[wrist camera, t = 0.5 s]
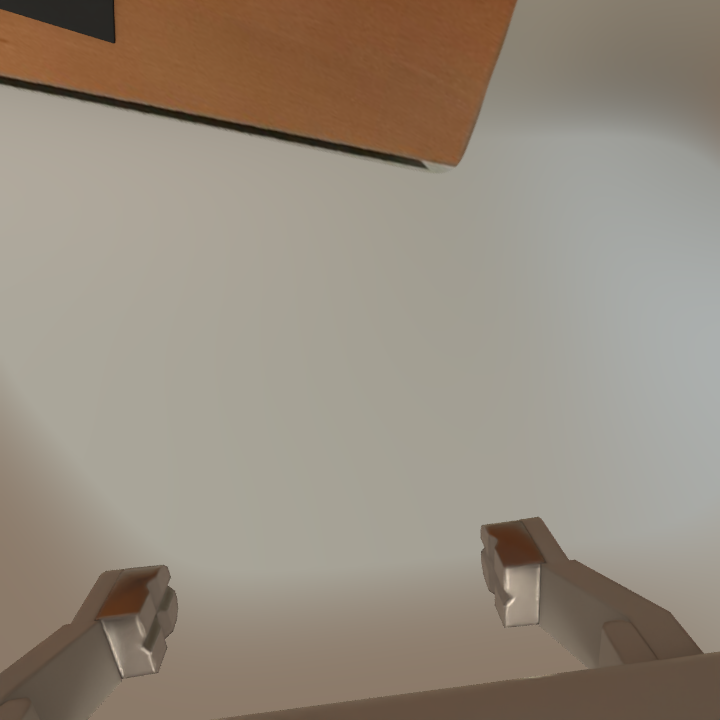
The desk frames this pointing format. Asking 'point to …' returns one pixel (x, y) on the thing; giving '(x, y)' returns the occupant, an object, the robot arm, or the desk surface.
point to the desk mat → (69, 15)
